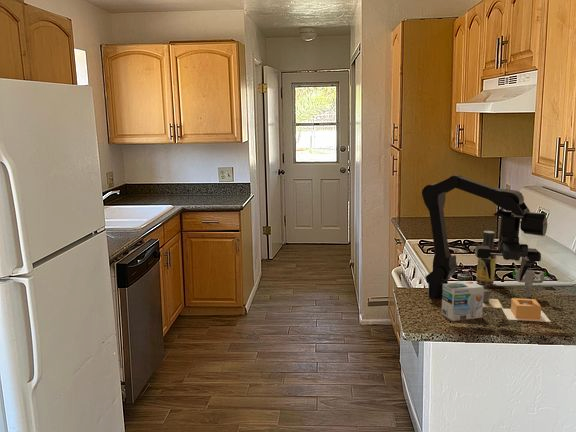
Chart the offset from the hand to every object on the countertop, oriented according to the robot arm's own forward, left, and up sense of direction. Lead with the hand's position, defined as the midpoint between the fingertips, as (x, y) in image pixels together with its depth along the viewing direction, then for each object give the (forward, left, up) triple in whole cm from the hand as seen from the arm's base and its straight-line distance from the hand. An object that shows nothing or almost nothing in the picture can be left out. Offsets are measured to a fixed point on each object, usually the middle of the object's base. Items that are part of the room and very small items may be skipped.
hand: (504, 279), depth 174 cm
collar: (+6, -5, -9) cm, 12 cm away
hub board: (+6, -5, -10) cm, 13 cm away
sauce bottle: (0, +31, -11) cm, 33 cm away
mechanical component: (+11, +14, -11) cm, 20 cm away
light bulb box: (-14, -9, -11) cm, 20 cm away
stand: (-4, +5, -10) cm, 12 cm away
